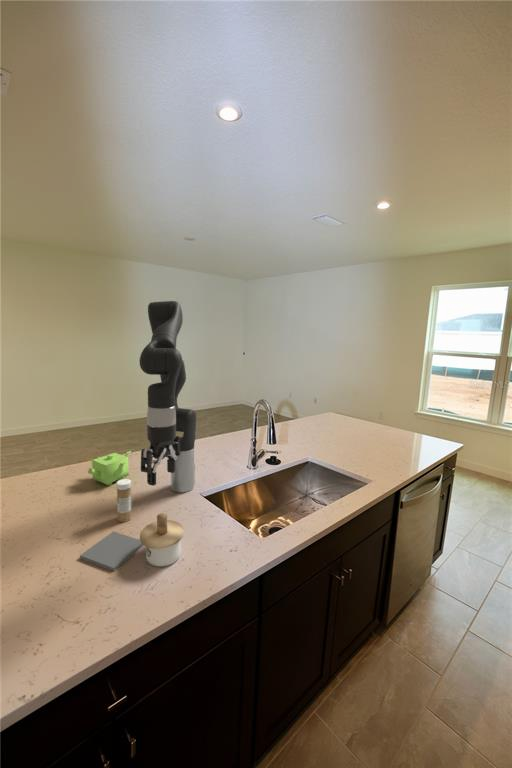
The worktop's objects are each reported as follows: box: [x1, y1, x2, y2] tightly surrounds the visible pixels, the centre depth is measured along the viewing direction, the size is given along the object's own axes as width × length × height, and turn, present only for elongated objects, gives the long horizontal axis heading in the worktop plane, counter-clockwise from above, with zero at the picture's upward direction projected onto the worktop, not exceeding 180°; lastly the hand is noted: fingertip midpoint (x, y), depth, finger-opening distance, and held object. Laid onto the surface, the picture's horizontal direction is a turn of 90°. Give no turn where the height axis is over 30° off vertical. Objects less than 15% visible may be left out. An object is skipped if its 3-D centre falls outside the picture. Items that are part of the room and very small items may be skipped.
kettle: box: [87, 450, 132, 486], centre depth 134 cm, size 15×14×11 cm
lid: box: [139, 512, 185, 549], centre depth 90 cm, size 12×12×6 cm
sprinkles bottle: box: [115, 478, 132, 523], centre depth 107 cm, size 5×5×13 cm
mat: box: [79, 530, 144, 572], centre depth 92 cm, size 12×12×1 cm
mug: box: [145, 540, 182, 568], centre depth 91 cm, size 12×10×6 cm
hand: (161, 478), depth 89 cm, fingers open, 8 cm apart
